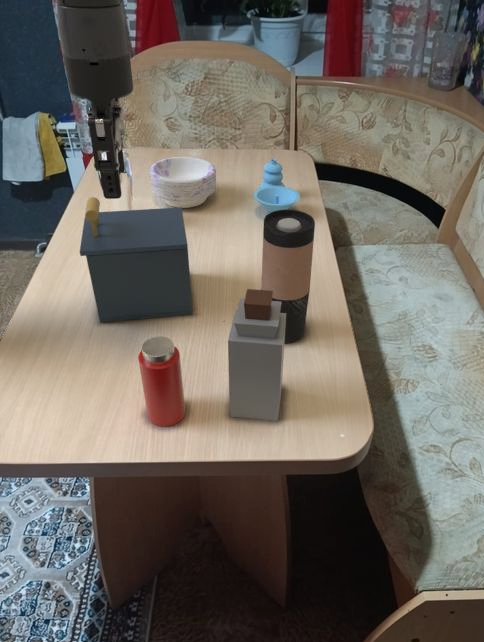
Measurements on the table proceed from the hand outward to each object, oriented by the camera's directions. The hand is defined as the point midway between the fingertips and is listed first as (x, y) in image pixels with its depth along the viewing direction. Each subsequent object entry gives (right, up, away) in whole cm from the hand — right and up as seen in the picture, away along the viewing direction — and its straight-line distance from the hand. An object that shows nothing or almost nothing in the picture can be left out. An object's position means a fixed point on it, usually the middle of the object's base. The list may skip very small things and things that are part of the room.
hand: (115, 184), depth 73 cm
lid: (-1, -3, +16) cm, 17 cm away
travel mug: (+23, -19, +18) cm, 35 cm away
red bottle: (+6, -31, +3) cm, 32 cm away
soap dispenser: (+23, +11, +55) cm, 61 cm away
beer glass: (-11, +5, +47) cm, 49 cm away
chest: (-1, -13, +25) cm, 28 cm away
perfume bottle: (+19, -30, +5) cm, 36 cm away
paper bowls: (+1, +13, +57) cm, 59 cm away
